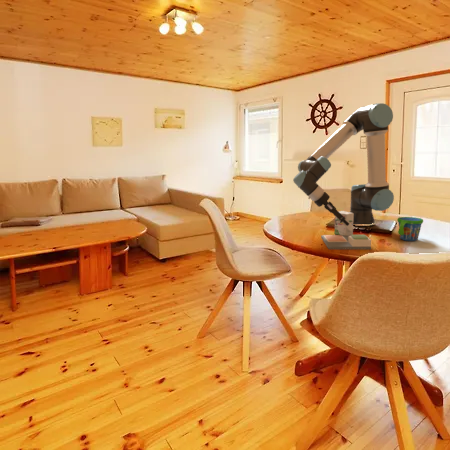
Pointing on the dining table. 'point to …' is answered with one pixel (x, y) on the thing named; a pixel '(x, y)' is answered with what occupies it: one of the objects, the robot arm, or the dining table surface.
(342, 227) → the ink box
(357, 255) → the dining table surface
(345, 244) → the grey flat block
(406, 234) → the snack cup
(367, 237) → the button
